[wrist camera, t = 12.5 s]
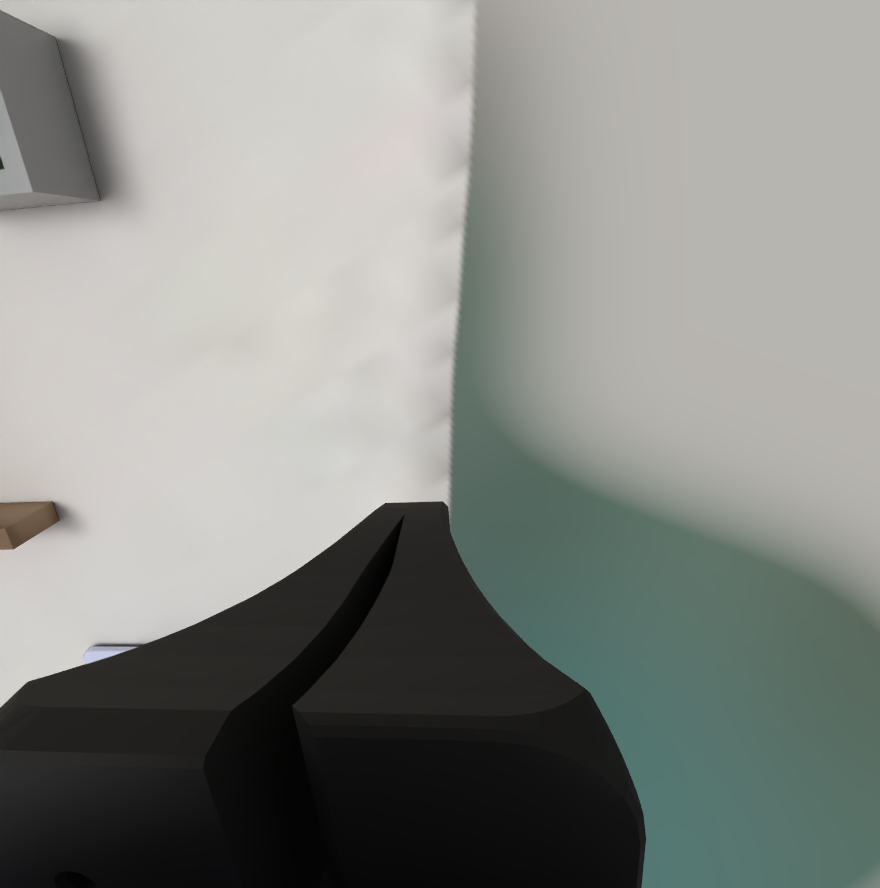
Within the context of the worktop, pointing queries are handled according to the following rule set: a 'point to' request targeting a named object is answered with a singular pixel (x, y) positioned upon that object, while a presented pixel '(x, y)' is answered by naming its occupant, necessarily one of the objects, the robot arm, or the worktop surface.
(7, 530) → the walnut pocket
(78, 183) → the button housing
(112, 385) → the worktop surface
